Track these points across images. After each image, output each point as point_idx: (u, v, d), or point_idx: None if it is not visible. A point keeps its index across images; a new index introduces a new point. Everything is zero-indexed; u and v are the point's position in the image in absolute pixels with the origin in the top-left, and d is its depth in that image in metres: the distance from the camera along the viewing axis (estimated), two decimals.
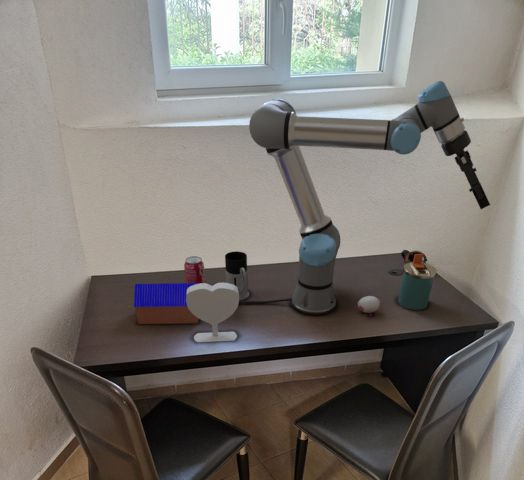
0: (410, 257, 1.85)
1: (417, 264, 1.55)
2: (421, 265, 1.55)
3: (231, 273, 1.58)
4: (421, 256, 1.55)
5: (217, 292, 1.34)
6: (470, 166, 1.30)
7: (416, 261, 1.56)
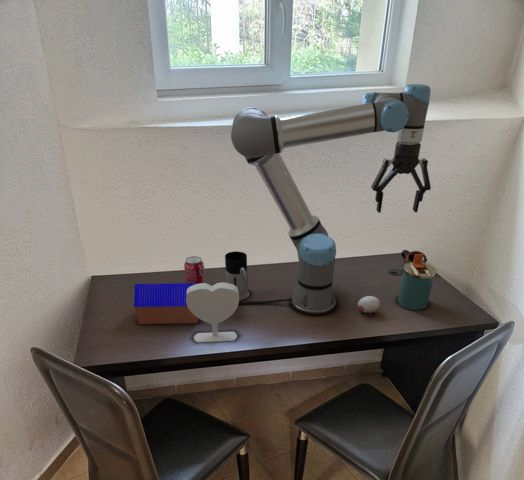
0: (410, 257, 1.85)
1: (417, 264, 1.55)
2: (421, 265, 1.55)
3: (231, 273, 1.58)
4: (421, 256, 1.55)
5: (217, 292, 1.34)
6: (381, 171, 1.47)
7: (416, 261, 1.56)
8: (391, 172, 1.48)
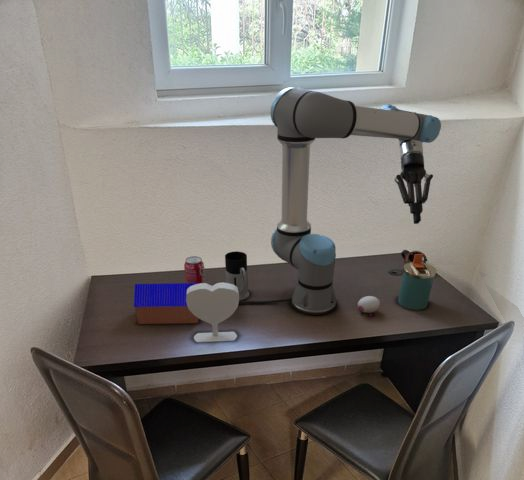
0: (410, 257, 1.85)
1: (417, 264, 1.55)
2: (421, 265, 1.55)
3: (231, 273, 1.58)
4: (421, 256, 1.55)
5: (217, 292, 1.34)
6: (400, 184, 1.57)
7: (416, 261, 1.56)
8: (408, 184, 1.58)
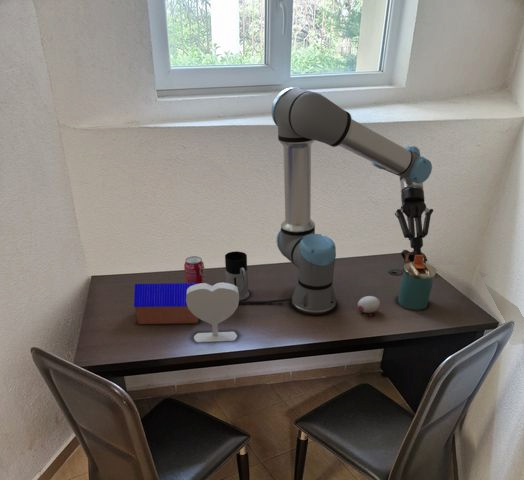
0: (410, 257, 1.85)
1: (418, 265, 1.55)
2: (422, 266, 1.54)
3: (231, 273, 1.58)
4: (422, 257, 1.54)
5: (217, 292, 1.34)
6: (401, 219, 1.57)
7: (417, 262, 1.55)
8: (409, 219, 1.58)
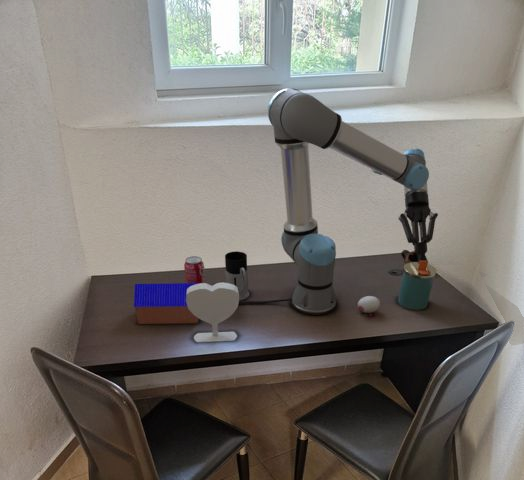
0: (410, 257, 1.85)
1: (422, 271, 1.51)
2: (426, 272, 1.51)
3: (231, 273, 1.58)
4: (426, 262, 1.51)
5: (217, 292, 1.34)
6: (404, 223, 1.54)
7: (421, 268, 1.52)
8: (413, 223, 1.55)
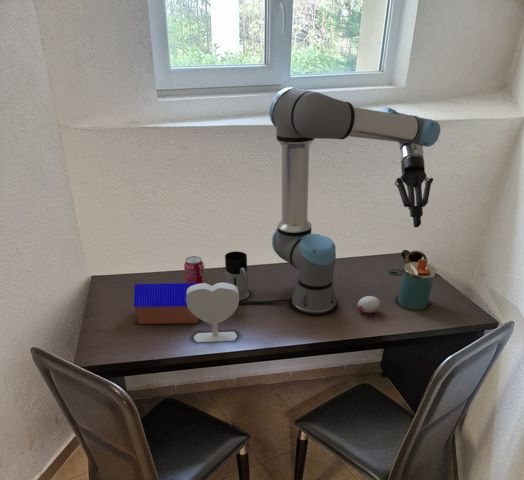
0: (410, 257, 1.85)
1: (421, 270, 1.52)
2: (425, 271, 1.51)
3: (231, 273, 1.58)
4: (425, 262, 1.52)
5: (217, 292, 1.34)
6: (400, 187, 1.57)
7: (420, 267, 1.53)
8: (409, 188, 1.57)
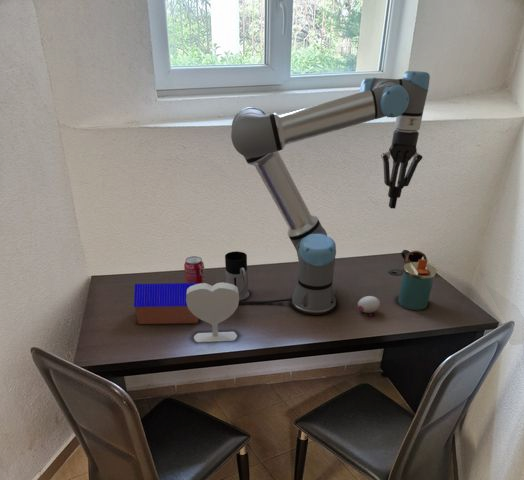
0: (410, 257, 1.85)
1: (421, 270, 1.52)
2: (425, 271, 1.51)
3: (231, 273, 1.58)
4: (425, 262, 1.52)
5: (217, 292, 1.34)
6: (385, 166, 1.46)
7: (420, 267, 1.53)
8: (394, 164, 1.47)
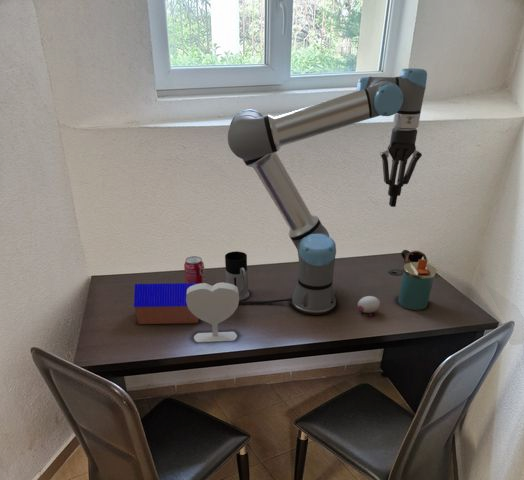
0: (410, 257, 1.85)
1: (421, 270, 1.52)
2: (425, 271, 1.51)
3: (231, 273, 1.58)
4: (425, 262, 1.52)
5: (217, 292, 1.34)
6: (384, 164, 1.45)
7: (420, 267, 1.53)
8: (393, 163, 1.46)
